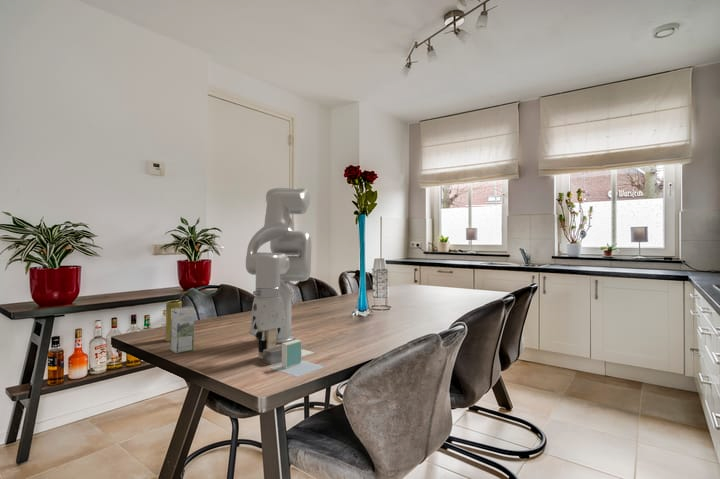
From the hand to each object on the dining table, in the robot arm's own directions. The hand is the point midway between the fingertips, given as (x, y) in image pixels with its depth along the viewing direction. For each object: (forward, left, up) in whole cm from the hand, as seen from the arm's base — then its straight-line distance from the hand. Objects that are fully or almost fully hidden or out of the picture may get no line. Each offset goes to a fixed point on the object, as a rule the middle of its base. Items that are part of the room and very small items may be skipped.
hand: (267, 350), depth 122 cm
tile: (+12, 0, -2) cm, 12 cm away
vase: (-45, -8, -3) cm, 46 cm away
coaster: (+5, +10, -3) cm, 11 cm away
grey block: (+2, 0, -3) cm, 3 cm away
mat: (+14, 0, -3) cm, 14 cm away
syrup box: (-29, -13, -3) cm, 32 cm away
